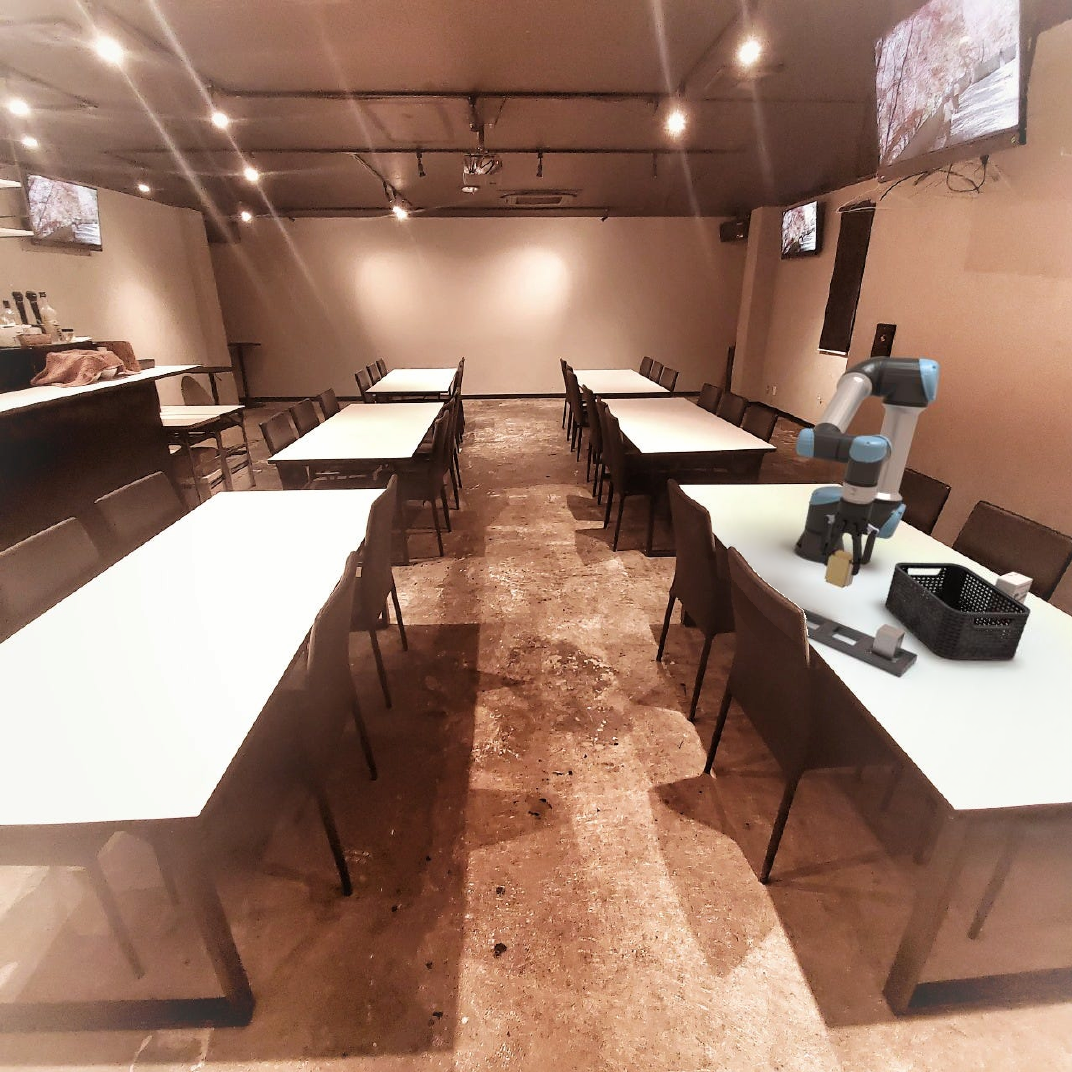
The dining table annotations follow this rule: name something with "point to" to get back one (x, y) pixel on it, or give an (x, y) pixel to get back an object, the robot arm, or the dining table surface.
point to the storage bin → (956, 612)
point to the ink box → (1014, 586)
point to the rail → (856, 644)
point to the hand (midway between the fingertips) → (838, 580)
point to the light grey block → (888, 642)
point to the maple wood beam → (838, 568)
